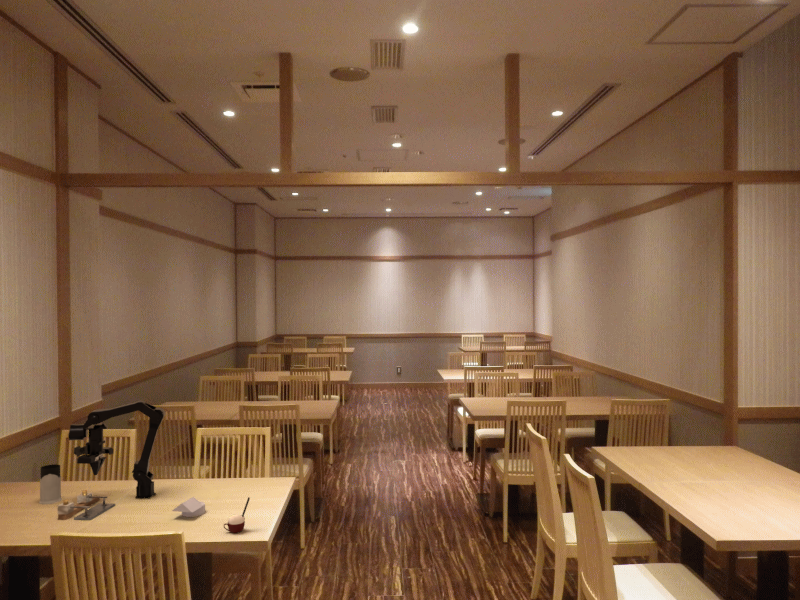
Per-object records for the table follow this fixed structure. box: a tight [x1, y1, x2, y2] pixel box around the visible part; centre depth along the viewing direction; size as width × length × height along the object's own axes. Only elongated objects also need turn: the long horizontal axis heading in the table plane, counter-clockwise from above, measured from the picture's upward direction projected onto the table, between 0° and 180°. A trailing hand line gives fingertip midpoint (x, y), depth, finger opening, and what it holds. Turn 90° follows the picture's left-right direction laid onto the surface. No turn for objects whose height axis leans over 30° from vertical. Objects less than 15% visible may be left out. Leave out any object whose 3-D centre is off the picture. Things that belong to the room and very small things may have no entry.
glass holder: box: [38, 464, 63, 505], centre depth 268 cm, size 9×14×15 cm, turn 25°
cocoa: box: [223, 496, 250, 534], centre depth 229 cm, size 10×6×12 cm, turn 87°
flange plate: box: [73, 502, 116, 521], centre depth 251 cm, size 7×18×1 cm, turn 176°
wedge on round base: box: [171, 496, 206, 518], centre depth 247 cm, size 9×7×13 cm
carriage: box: [76, 489, 108, 505], centre depth 258 cm, size 12×4×6 cm, turn 86°
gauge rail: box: [57, 498, 101, 521], centre depth 254 cm, size 12×24×7 cm, turn 176°
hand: (95, 475), depth 266 cm, fingers closed
